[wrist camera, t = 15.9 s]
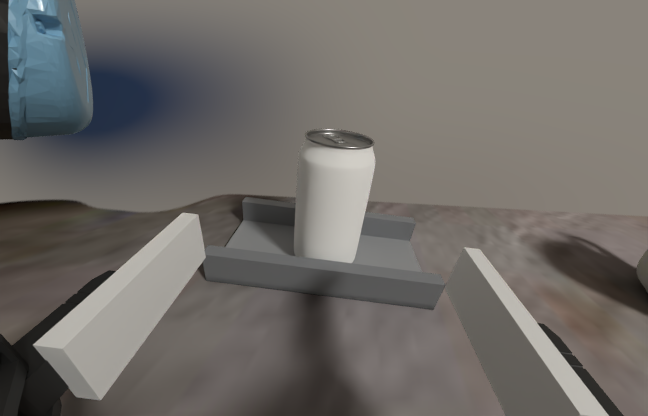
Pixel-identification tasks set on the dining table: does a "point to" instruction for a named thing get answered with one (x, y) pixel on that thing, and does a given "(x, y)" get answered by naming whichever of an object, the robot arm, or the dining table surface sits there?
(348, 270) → the tray
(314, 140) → the can
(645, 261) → the teacup
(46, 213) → the dining table surface
